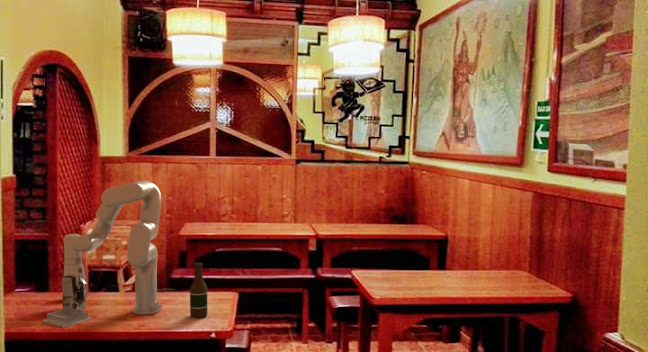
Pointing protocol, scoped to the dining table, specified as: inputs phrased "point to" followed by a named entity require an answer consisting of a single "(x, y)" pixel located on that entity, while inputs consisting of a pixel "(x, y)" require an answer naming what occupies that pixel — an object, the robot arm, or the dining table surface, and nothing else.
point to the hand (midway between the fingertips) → (74, 298)
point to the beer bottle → (198, 294)
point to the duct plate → (66, 317)
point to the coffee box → (72, 294)
